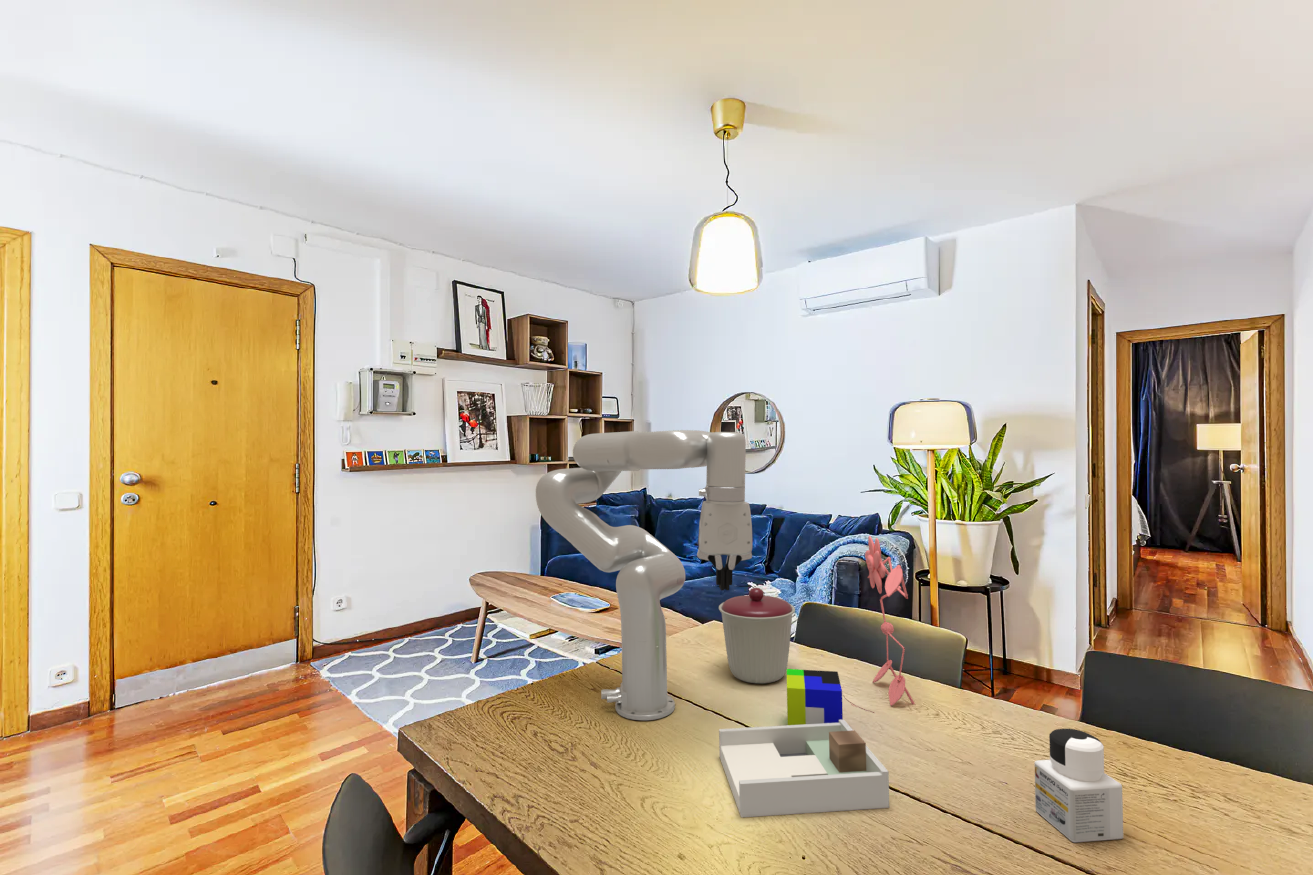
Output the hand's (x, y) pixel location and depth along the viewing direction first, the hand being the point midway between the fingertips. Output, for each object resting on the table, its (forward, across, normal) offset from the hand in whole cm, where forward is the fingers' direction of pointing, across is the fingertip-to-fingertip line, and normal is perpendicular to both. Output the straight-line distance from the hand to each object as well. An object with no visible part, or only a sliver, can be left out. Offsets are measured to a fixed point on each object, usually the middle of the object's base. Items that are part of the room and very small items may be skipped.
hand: (723, 588), depth 122 cm
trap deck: (+27, +10, -20) cm, 35 cm away
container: (+26, +47, -34) cm, 63 cm away
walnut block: (+24, +18, -20) cm, 36 cm away
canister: (+28, +13, +27) cm, 41 cm away
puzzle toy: (+27, +18, -2) cm, 33 cm away
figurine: (+27, +36, +13) cm, 47 cm away
